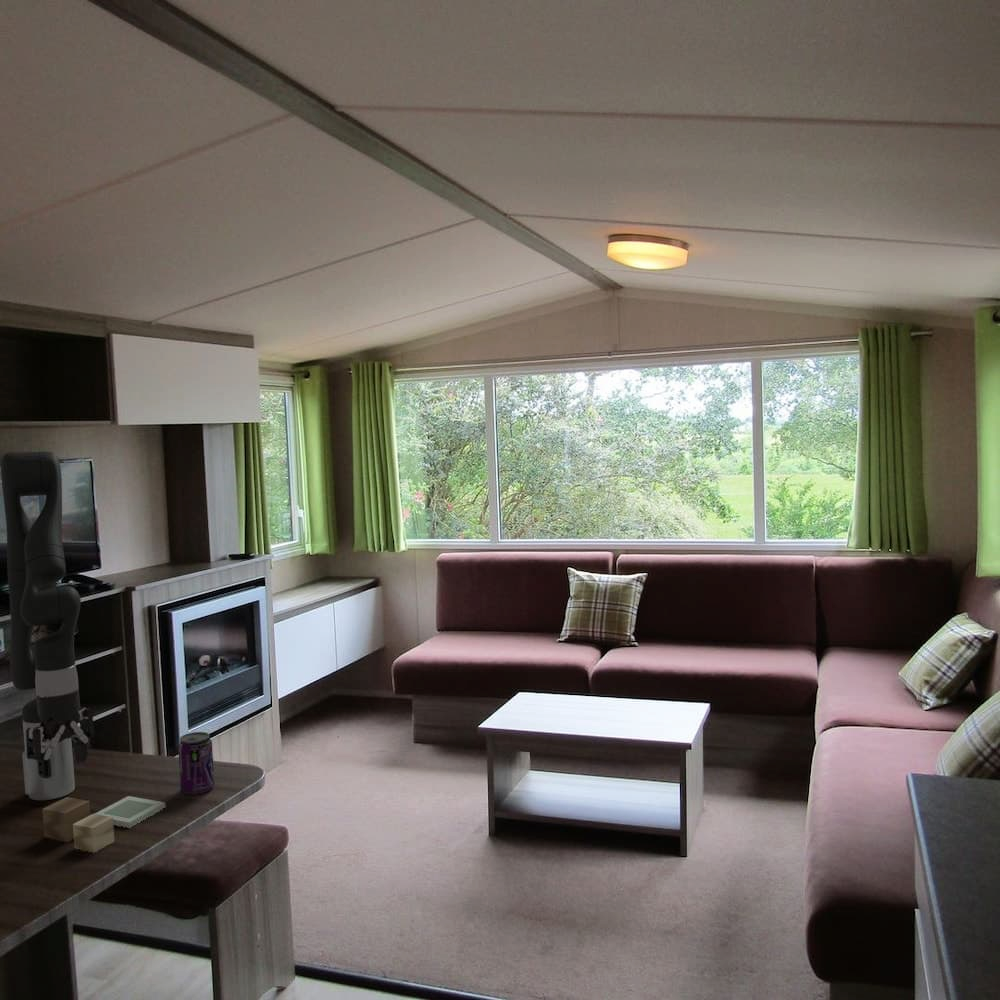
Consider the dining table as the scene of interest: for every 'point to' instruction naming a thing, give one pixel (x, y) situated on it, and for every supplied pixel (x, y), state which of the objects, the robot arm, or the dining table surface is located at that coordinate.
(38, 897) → the dining table surface
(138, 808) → the plate
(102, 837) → the beech cube
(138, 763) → the dining table surface
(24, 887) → the dining table surface
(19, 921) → the dining table surface
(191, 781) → the beverage can
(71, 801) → the walnut cube
